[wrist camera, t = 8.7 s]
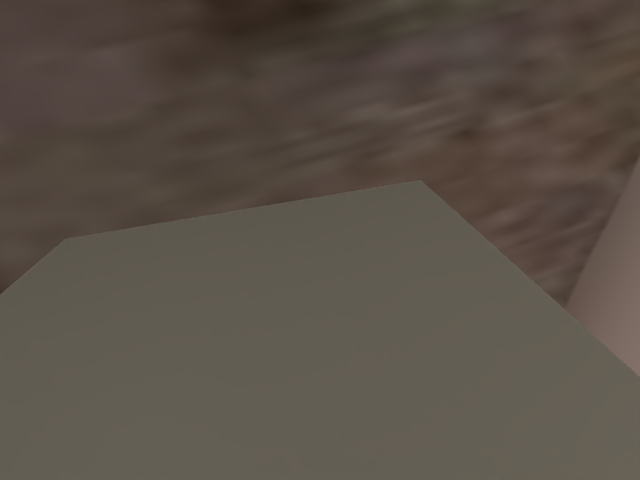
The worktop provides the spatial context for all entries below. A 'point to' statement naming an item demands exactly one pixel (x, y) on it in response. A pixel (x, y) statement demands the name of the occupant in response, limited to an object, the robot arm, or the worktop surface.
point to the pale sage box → (305, 354)
